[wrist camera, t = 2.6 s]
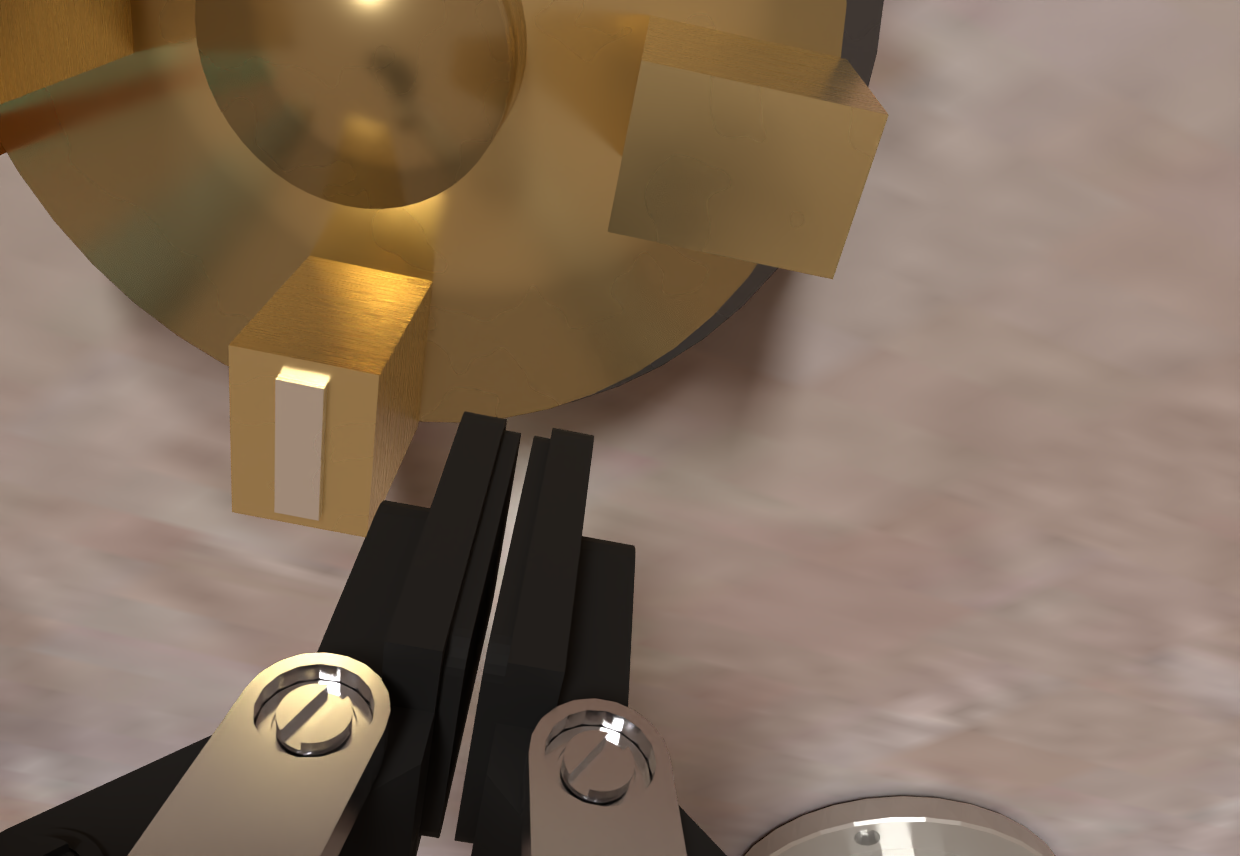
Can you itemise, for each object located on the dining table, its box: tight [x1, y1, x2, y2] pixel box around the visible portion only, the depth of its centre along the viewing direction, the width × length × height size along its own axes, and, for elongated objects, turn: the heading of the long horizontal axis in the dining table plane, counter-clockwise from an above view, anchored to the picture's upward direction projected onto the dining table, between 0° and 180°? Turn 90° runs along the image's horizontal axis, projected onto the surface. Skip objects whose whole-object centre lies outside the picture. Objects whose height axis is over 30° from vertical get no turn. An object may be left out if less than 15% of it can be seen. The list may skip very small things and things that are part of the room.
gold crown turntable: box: [0, 0, 888, 537], centre depth 16 cm, size 16×16×6 cm
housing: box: [0, 0, 884, 402], centre depth 18 cm, size 18×18×6 cm
